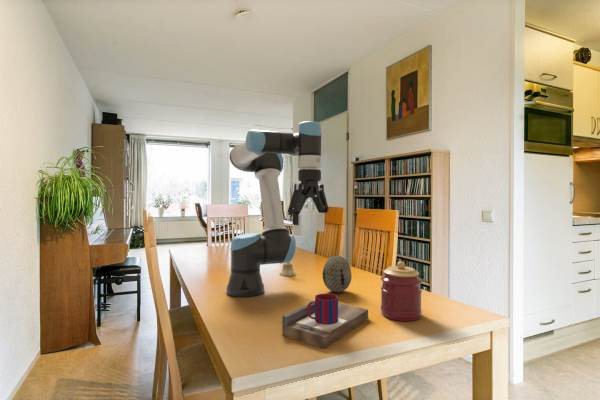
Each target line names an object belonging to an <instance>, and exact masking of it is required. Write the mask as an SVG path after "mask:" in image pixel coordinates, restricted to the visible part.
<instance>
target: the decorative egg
mask: <svg viewBox="0 0 600 400" xmlns="http://www.w3.org/2000/svg"><path fill="white" fill-rule="evenodd" d="M322 281H323V283H324V286H325V287H326V288H327V290H329V291H331V292H333V293H342V292H344V291H346V290H347V289H348V288H349V286H350V285H351V282H352V269H351V267H350V264H349V262H348V260H347V259H346V258H344V256H341V255H339V254H337V255H336V254H334V255H332V256H330V257H329V258H328V259H326V261H325V262H324V265H323V269H322Z"/></svg>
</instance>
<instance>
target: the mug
mask: <svg viewBox="0 0 600 400" xmlns="http://www.w3.org/2000/svg"><path fill="white" fill-rule="evenodd" d="M312 303H315V317H312V316H311V315H310V306H311V304H312ZM338 303H339V296H338V295H337V294H334V293H318V294H316V295H314V300H312V301H309V302H308V303H307V304H308V306H307V314H308V316H309V317H310V318H312V319H315V321H316V322H317V323H320V324H334V323H337V322H338Z"/></svg>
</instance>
